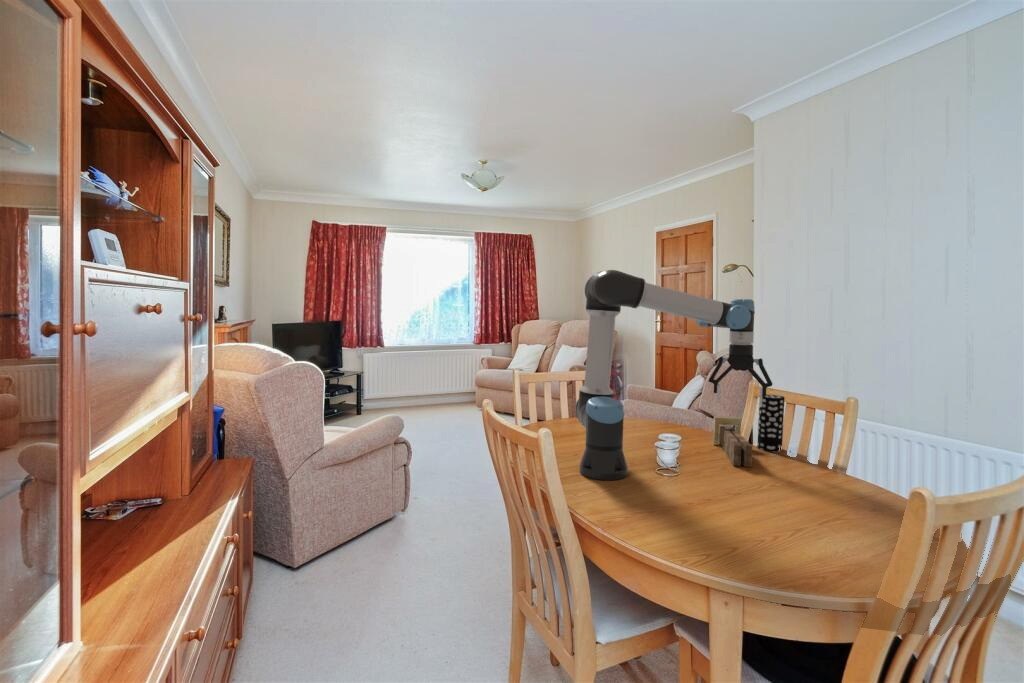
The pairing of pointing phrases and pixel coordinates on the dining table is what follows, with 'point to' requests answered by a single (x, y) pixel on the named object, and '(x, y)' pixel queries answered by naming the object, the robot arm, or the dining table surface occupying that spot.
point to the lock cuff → (725, 421)
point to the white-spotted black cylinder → (771, 423)
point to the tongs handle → (721, 433)
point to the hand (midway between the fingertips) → (739, 404)
